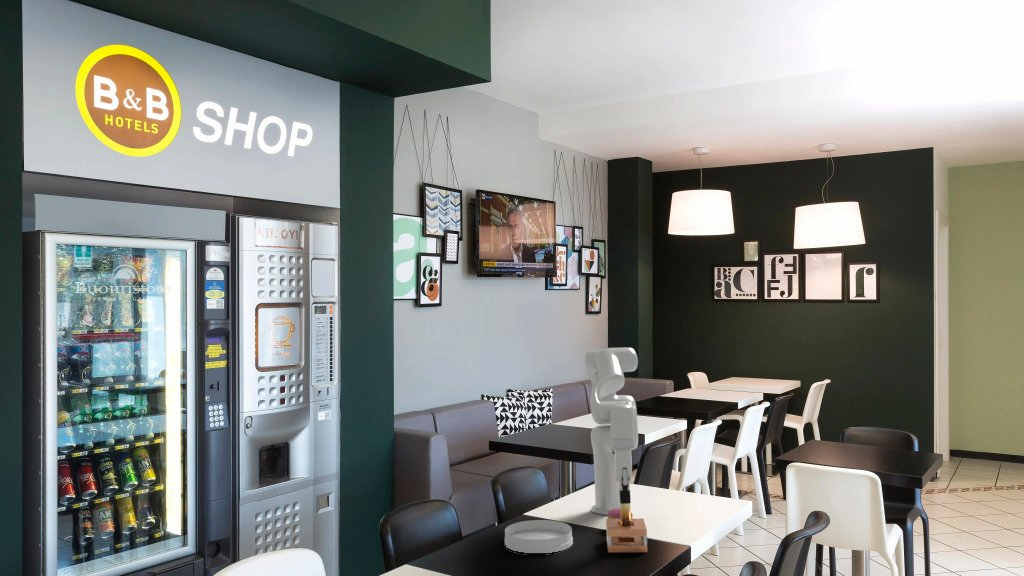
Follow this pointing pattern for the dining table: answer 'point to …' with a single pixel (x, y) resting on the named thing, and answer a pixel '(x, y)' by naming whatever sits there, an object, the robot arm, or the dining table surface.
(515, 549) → the dish
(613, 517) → the cupcake
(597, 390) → the robot arm
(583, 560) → the dining table surface
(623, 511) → the air tube
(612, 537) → the collar stand
